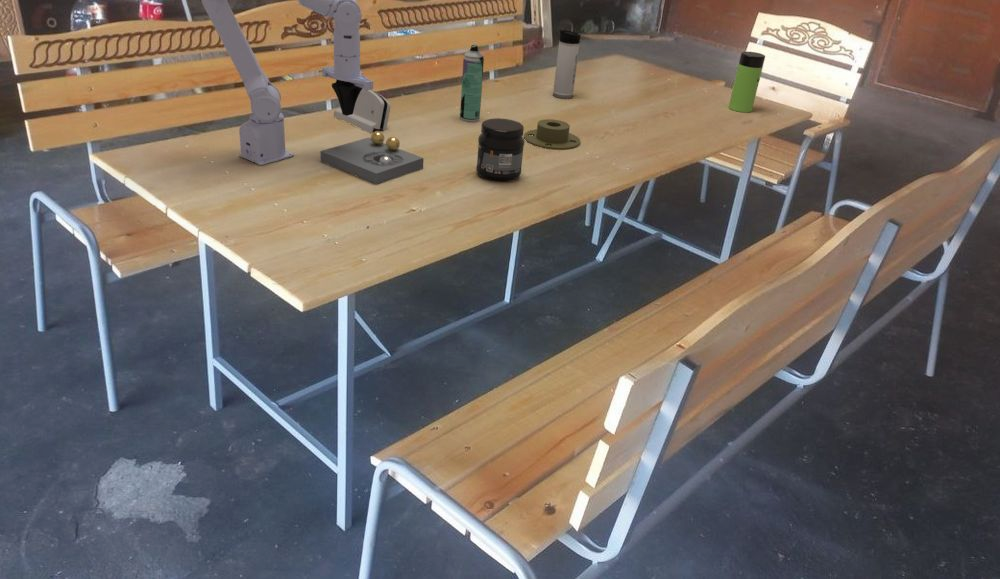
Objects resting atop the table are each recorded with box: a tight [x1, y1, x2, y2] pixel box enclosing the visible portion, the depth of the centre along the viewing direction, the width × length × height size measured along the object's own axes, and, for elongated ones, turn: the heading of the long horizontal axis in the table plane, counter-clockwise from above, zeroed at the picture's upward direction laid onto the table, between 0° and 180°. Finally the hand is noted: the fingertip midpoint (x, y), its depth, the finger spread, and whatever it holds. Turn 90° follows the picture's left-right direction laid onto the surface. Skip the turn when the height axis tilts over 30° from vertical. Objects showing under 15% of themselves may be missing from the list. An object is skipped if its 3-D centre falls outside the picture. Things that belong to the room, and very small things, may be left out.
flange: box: [523, 118, 581, 151], centre depth 205 cm, size 5×15×15 cm
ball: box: [379, 156, 392, 162], centre depth 177 cm, size 3×3×3 cm
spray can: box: [459, 44, 485, 123], centre depth 210 cm, size 6×6×20 cm
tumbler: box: [728, 51, 766, 113], centre depth 244 cm, size 8×8×17 cm
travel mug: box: [552, 29, 581, 100], centre depth 239 cm, size 6×7×20 cm
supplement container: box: [475, 117, 526, 183], centre depth 178 cm, size 10×10×12 cm
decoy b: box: [385, 136, 401, 151], centre depth 181 cm, size 3×3×3 cm
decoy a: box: [370, 130, 385, 145], centre depth 183 cm, size 3×3×3 cm
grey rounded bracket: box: [332, 88, 392, 134], centre depth 203 cm, size 17×5×10 cm, turn 47°
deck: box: [319, 137, 424, 185], centre depth 179 cm, size 18×15×2 cm
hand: (347, 114), depth 178 cm, fingers closed
